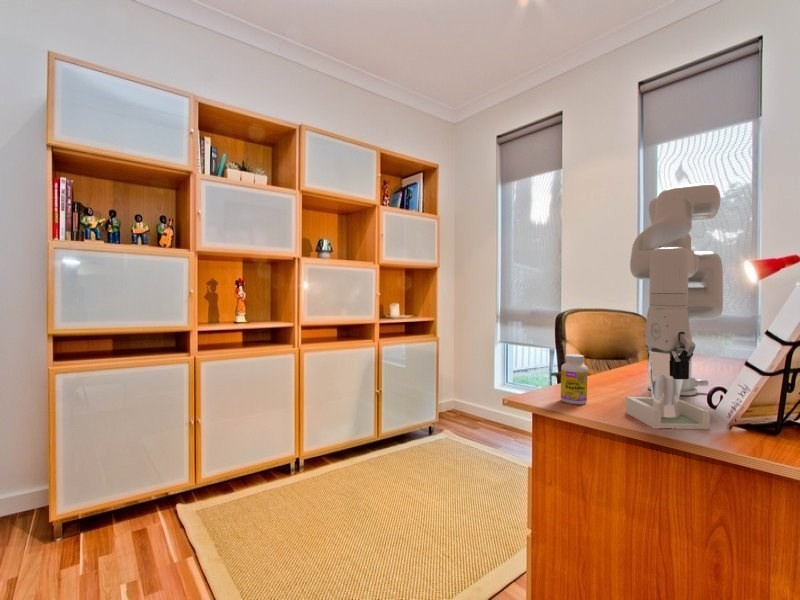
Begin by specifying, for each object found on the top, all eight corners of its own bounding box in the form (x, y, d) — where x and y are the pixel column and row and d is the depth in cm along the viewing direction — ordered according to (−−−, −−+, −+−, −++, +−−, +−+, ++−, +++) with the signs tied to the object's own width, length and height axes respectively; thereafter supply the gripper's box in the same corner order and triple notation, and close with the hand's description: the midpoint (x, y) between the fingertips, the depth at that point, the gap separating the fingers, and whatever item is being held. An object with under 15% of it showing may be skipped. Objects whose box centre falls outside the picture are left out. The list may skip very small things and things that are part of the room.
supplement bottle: (561, 403, 111) (561, 356, 111) (560, 398, 117) (560, 352, 117) (588, 406, 109) (588, 357, 109) (585, 400, 115) (586, 354, 115)
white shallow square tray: (675, 413, 102) (675, 397, 102) (709, 429, 90) (709, 411, 90) (625, 412, 103) (626, 396, 103) (653, 428, 91) (654, 410, 91)
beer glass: (688, 420, 93) (689, 354, 92) (654, 418, 94) (655, 353, 94) (674, 411, 99) (675, 349, 99) (642, 410, 101) (643, 349, 101)
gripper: (632, 299, 105) (631, 366, 105) (675, 303, 87) (674, 383, 88) (662, 299, 104) (661, 366, 105) (711, 302, 87) (710, 383, 88)
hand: (667, 374), depth 97 cm, fingers open, 9 cm apart
